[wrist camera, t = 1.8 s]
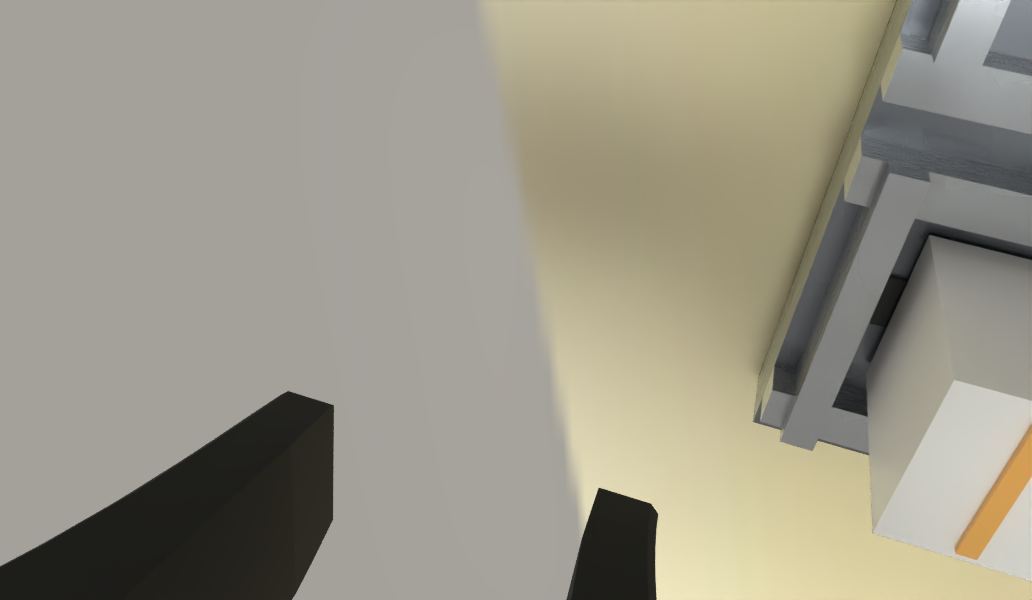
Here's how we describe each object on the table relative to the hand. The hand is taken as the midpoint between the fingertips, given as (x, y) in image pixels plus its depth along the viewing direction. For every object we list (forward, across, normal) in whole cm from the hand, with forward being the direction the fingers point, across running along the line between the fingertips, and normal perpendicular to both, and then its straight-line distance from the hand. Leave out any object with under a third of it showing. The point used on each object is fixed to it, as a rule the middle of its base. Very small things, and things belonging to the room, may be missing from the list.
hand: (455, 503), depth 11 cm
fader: (+7, -7, 0) cm, 10 cm away
